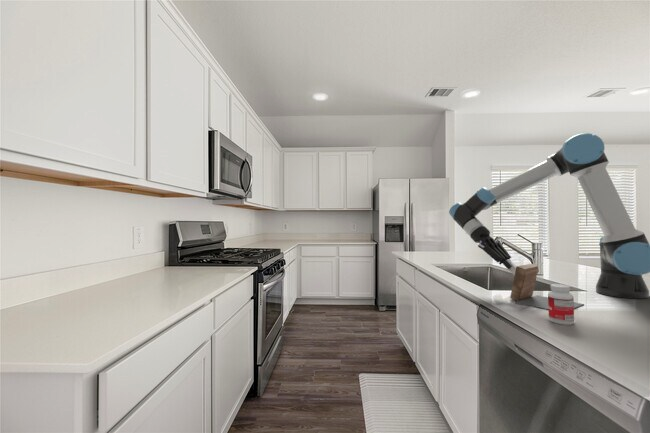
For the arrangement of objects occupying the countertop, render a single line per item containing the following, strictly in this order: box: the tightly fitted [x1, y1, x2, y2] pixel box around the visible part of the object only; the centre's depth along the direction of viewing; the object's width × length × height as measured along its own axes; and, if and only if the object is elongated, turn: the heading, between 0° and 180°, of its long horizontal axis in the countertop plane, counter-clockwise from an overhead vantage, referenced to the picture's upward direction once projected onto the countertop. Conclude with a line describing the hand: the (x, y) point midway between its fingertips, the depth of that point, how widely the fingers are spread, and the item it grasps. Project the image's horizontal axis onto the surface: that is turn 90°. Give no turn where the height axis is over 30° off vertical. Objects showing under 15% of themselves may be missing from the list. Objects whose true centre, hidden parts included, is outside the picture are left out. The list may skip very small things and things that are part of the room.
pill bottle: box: [547, 283, 575, 326], centre depth 91 cm, size 6×6×11 cm
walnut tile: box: [509, 263, 539, 302], centre depth 116 cm, size 3×10×13 cm, turn 121°
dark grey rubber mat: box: [514, 295, 585, 311], centre depth 109 cm, size 15×16×1 cm
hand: (518, 274), depth 118 cm, fingers closed
